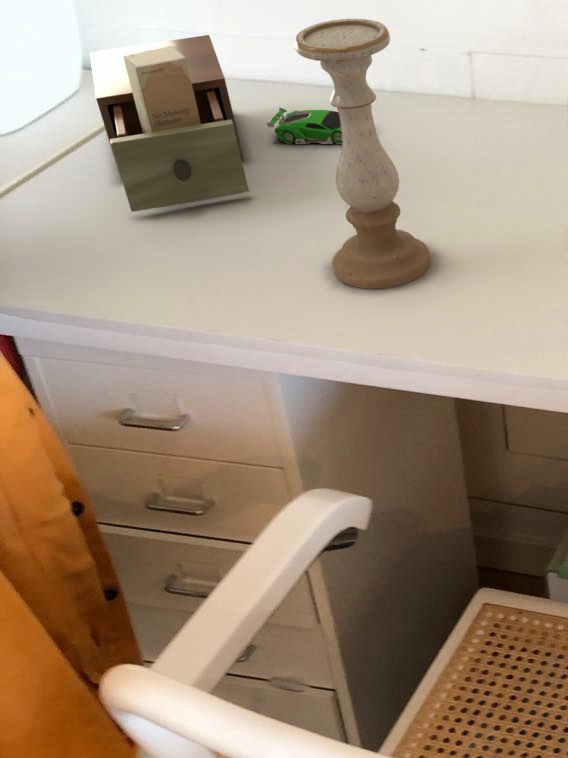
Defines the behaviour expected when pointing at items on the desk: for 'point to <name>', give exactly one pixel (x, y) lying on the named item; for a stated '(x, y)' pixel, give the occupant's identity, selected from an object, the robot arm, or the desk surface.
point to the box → (162, 89)
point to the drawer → (178, 157)
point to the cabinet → (117, 87)
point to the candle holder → (363, 159)
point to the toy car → (308, 126)
